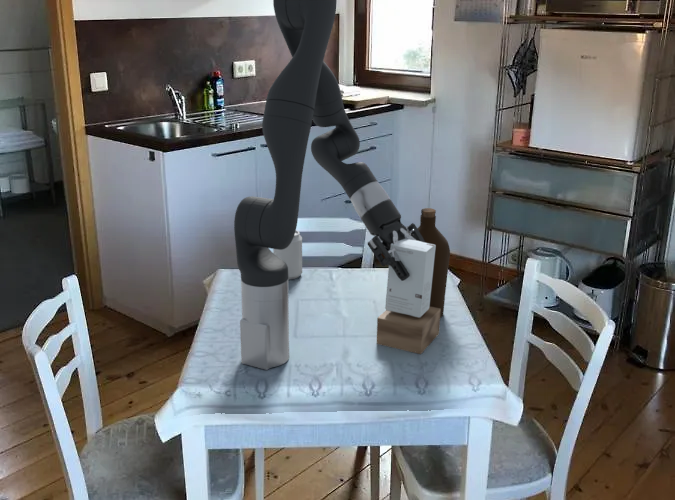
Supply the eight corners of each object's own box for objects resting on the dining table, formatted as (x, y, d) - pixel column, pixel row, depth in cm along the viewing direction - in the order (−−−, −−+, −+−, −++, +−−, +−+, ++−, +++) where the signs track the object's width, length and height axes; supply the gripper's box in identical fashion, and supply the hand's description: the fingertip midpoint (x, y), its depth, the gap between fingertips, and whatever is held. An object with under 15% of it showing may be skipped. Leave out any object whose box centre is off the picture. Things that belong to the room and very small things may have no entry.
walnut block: (420, 354, 151) (422, 327, 149) (376, 343, 155) (377, 317, 153) (439, 333, 160) (440, 308, 158) (396, 324, 165) (397, 299, 163)
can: (304, 271, 196) (304, 228, 192) (300, 281, 189) (299, 237, 185) (276, 269, 197) (275, 227, 193) (271, 279, 190) (270, 235, 186)
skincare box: (384, 310, 155) (387, 244, 150) (395, 300, 160) (398, 236, 155) (422, 318, 151) (426, 251, 146) (432, 308, 156) (436, 242, 152)
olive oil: (419, 300, 178) (424, 200, 169) (455, 313, 171) (462, 210, 162) (390, 313, 170) (394, 209, 162) (427, 327, 163) (433, 219, 155)
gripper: (363, 205, 148) (407, 274, 144) (406, 192, 158) (448, 256, 154) (343, 224, 153) (385, 292, 149) (386, 211, 163) (426, 273, 160)
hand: (417, 273), depth 152 cm, fingers closed on skincare box, 7 cm apart
